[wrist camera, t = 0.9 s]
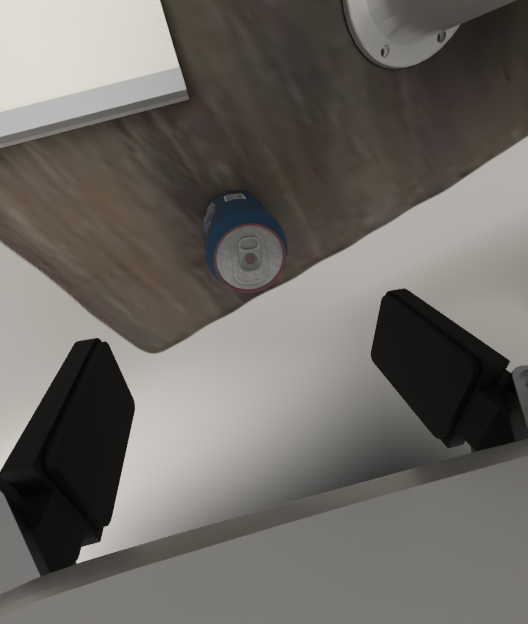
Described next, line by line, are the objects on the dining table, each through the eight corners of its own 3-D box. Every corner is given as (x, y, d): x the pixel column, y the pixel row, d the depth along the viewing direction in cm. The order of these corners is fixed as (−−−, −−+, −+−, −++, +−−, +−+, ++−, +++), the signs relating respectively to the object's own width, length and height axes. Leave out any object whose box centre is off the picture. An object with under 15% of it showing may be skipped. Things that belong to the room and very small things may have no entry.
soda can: (265, 246, 34) (293, 292, 24) (209, 254, 33) (213, 305, 23) (261, 185, 30) (293, 210, 20) (197, 192, 29) (197, 221, 19)
